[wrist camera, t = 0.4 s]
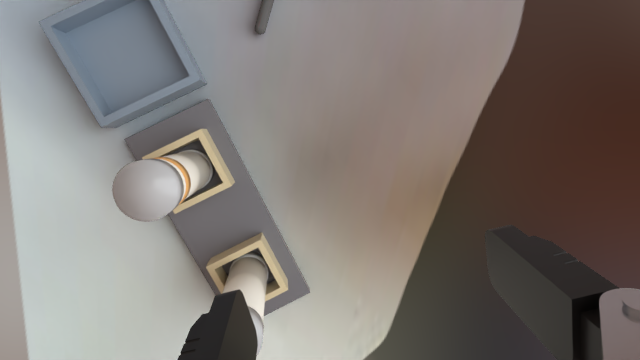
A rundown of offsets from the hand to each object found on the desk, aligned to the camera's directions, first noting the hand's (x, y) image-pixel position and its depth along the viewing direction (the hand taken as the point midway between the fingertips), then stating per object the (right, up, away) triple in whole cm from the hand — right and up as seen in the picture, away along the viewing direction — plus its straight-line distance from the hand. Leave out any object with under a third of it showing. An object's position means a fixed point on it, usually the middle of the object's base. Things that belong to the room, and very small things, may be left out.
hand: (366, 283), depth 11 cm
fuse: (-9, -6, +26) cm, 28 cm away
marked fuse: (-14, +4, +24) cm, 28 cm away
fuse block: (-12, -1, +26) cm, 29 cm away
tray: (-19, +15, +23) cm, 34 cm away
